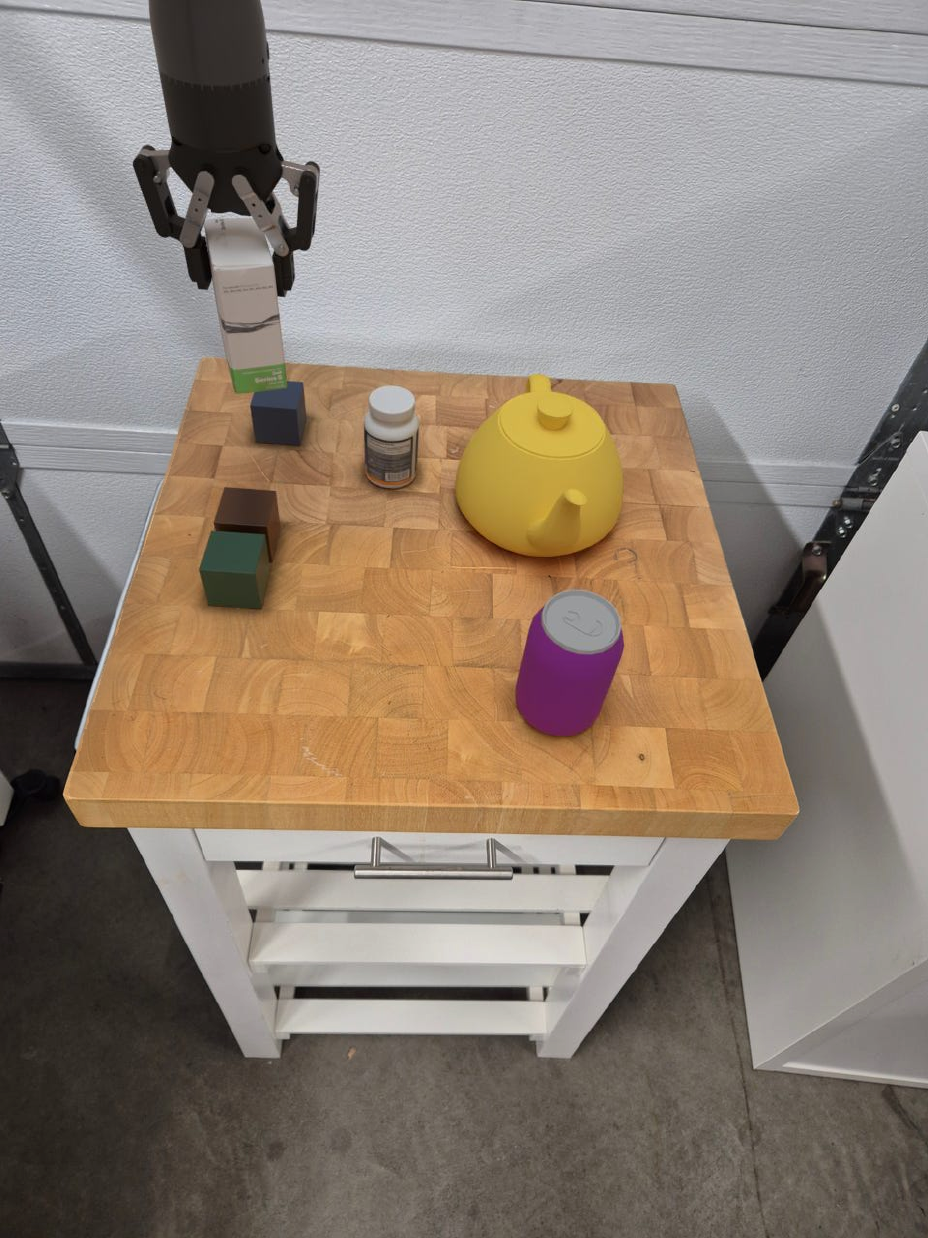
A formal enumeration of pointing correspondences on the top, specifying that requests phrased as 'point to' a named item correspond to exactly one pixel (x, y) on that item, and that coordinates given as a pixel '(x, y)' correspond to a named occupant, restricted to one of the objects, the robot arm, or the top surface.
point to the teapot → (541, 474)
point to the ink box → (246, 304)
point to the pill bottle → (391, 437)
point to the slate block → (279, 414)
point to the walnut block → (250, 514)
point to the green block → (235, 569)
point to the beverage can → (569, 662)
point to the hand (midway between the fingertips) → (244, 287)
